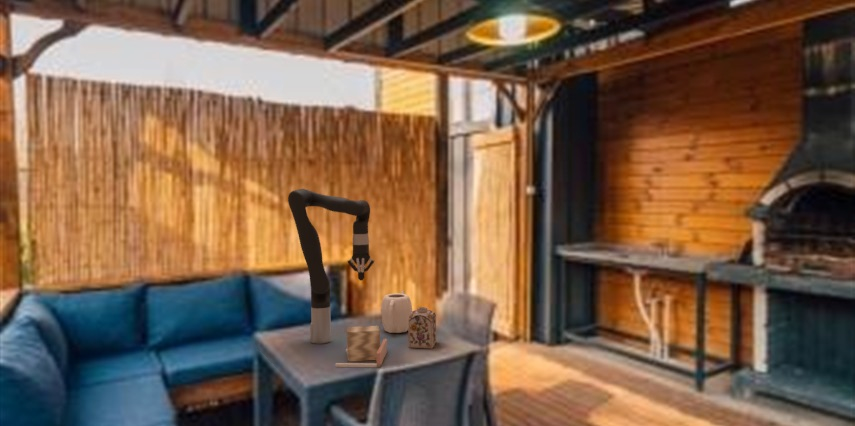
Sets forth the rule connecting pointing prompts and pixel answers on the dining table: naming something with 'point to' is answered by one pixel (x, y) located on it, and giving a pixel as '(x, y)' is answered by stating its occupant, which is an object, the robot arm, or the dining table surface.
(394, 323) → the beige pitcher
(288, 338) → the dining table surface
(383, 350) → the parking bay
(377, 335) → the wooden block
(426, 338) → the decorative jar
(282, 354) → the dining table surface
